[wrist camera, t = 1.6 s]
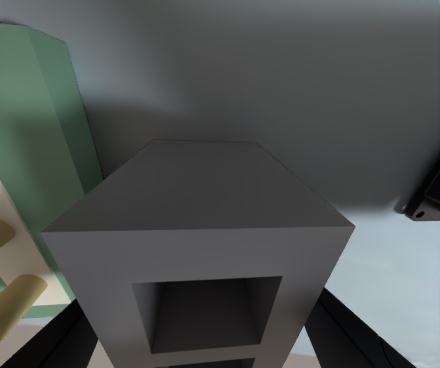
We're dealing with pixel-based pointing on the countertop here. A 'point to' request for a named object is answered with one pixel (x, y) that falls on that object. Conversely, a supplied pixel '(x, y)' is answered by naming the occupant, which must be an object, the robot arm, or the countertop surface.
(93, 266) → the grey cinder block
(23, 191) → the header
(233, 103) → the countertop surface
